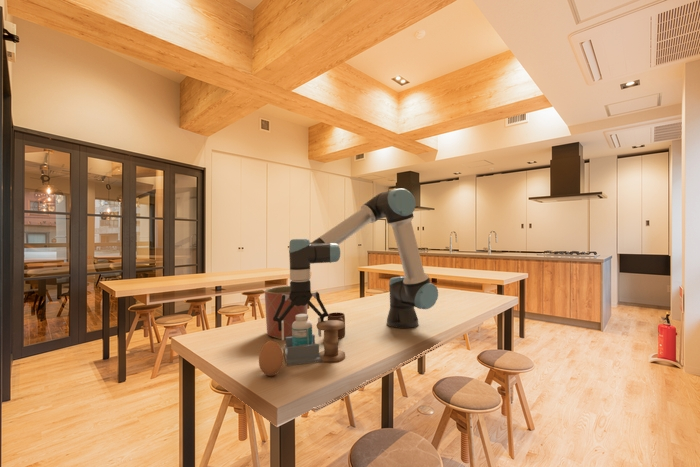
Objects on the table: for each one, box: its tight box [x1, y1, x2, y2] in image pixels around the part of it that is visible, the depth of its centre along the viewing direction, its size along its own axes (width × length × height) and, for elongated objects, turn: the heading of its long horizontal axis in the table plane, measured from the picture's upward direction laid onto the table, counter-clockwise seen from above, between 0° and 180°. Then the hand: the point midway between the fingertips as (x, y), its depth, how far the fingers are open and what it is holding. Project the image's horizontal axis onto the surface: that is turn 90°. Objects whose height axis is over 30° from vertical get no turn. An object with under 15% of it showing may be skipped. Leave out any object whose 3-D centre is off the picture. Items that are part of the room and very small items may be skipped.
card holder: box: [284, 333, 323, 367], centre depth 118 cm, size 12×18×5 cm, turn 14°
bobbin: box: [316, 319, 346, 364], centre depth 114 cm, size 10×10×12 cm
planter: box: [264, 285, 308, 340], centre depth 144 cm, size 19×19×20 cm
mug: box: [327, 312, 346, 339], centre depth 137 cm, size 12×8×9 cm, turn 23°
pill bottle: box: [291, 313, 313, 346], centre depth 118 cm, size 8×7×14 cm
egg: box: [258, 340, 284, 377], centre depth 101 cm, size 8×8×11 cm
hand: (301, 337), depth 118 cm, fingers open, 13 cm apart
